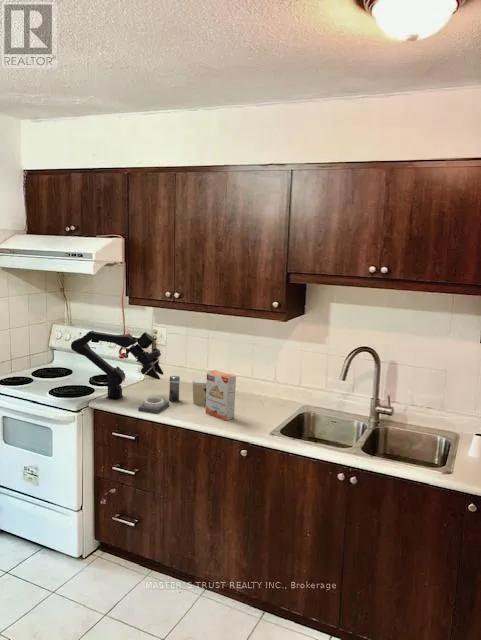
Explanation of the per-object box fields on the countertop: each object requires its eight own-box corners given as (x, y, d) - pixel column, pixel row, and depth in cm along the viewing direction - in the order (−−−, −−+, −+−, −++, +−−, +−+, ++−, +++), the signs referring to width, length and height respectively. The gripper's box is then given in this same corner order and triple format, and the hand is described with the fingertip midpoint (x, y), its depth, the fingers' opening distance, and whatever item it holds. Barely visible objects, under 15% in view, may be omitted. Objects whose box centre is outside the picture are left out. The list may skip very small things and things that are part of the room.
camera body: (138, 411, 250) (138, 403, 249) (150, 403, 262) (150, 395, 261) (157, 413, 247) (157, 405, 246) (168, 405, 259) (169, 398, 258)
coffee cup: (207, 407, 260) (208, 383, 258) (189, 405, 262) (190, 382, 260) (211, 401, 269) (212, 379, 267) (194, 399, 271) (195, 377, 269)
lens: (167, 401, 266) (167, 377, 264) (171, 398, 271) (172, 375, 269) (176, 402, 264) (177, 378, 262) (180, 399, 269) (181, 376, 267)
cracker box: (204, 413, 250) (206, 371, 247) (213, 410, 255) (215, 369, 251) (225, 421, 241) (227, 377, 238) (234, 418, 246) (236, 375, 242)
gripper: (147, 348, 254) (169, 371, 255) (155, 340, 272) (175, 362, 274) (131, 363, 255) (153, 385, 257) (140, 354, 274) (160, 375, 275)
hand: (161, 376), depth 266 cm, fingers open, 9 cm apart
